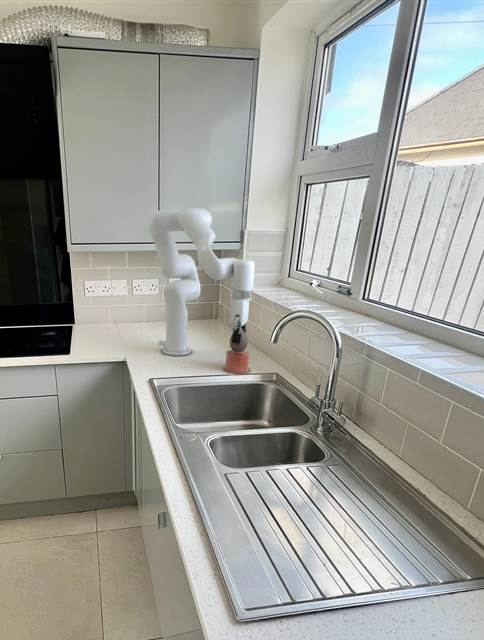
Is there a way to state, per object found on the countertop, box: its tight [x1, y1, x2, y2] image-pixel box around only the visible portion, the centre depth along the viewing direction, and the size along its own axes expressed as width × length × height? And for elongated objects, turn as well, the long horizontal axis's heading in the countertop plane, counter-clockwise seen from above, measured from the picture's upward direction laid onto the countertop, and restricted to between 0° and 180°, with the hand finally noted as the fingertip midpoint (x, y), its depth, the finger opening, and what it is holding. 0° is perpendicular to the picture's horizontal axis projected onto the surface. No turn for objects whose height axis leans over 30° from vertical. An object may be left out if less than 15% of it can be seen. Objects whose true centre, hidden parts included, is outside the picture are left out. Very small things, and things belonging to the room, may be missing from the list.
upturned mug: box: [224, 349, 250, 375], centre depth 162 cm, size 12×9×7 cm
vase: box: [229, 328, 249, 352], centre depth 157 cm, size 7×7×9 cm
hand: (238, 340), depth 157 cm, fingers closed on vase, 6 cm apart
